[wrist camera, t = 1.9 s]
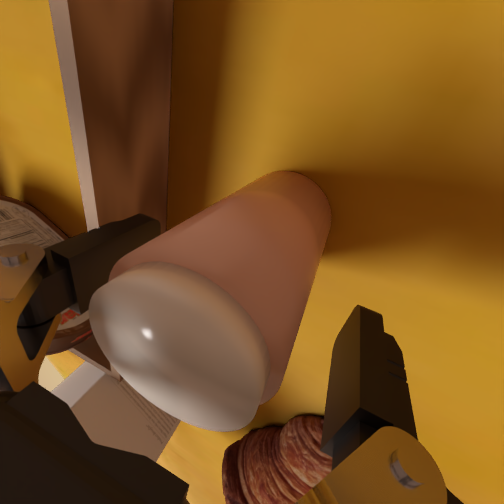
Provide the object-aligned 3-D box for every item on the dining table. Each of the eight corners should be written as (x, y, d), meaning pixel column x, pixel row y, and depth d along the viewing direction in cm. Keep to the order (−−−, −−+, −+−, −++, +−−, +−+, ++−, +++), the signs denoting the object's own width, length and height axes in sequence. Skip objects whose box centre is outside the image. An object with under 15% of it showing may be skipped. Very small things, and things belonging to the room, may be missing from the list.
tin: (8, 201, 23) (-140, 236, 16) (8, 176, 22) (-159, 203, 15) (128, 307, 24) (32, 384, 17) (137, 291, 22) (34, 370, 15)
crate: (-132, -111, 14) (-336, -205, 10) (175, -70, 10) (38, -206, 6) (10, 253, 28) (-50, 276, 24) (162, 336, 24) (120, 382, 20)
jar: (252, 157, 13) (58, 228, 5) (348, 190, 12) (311, 349, 4) (234, 239, 15) (93, 372, 7) (311, 271, 14) (243, 465, 6)
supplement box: (106, 339, 29) (-86, 504, 16) (150, 327, 24) (-75, 547, 12) (152, 394, 31) (12, 576, 19) (200, 394, 26) (55, 639, 14)
